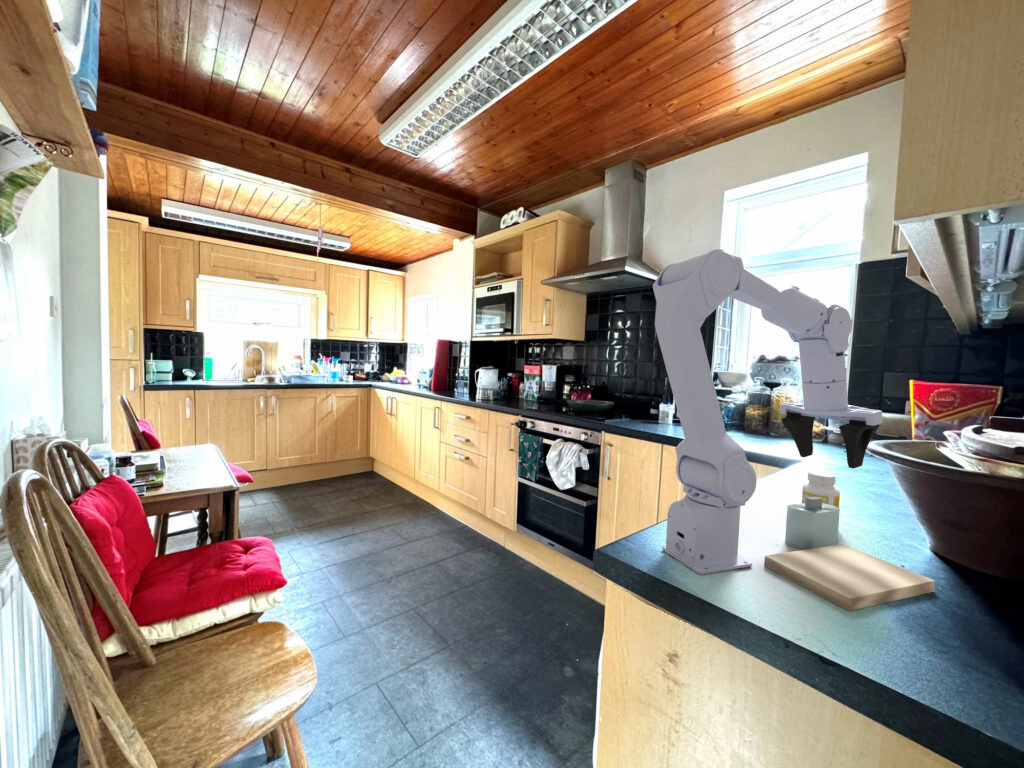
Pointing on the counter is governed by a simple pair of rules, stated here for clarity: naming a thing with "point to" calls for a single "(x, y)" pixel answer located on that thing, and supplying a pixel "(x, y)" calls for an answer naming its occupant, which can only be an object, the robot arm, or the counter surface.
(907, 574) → the cutting board
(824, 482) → the supplement bottle
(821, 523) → the grey capsule with tab
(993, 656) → the counter surface
